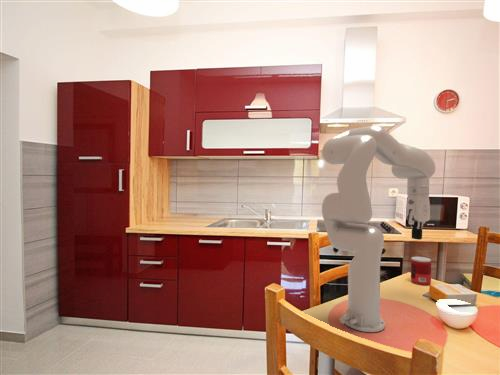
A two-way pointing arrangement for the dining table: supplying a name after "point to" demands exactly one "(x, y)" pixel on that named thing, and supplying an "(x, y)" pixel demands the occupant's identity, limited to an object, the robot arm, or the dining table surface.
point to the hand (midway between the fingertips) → (416, 238)
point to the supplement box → (452, 293)
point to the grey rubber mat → (427, 295)
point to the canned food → (421, 270)
